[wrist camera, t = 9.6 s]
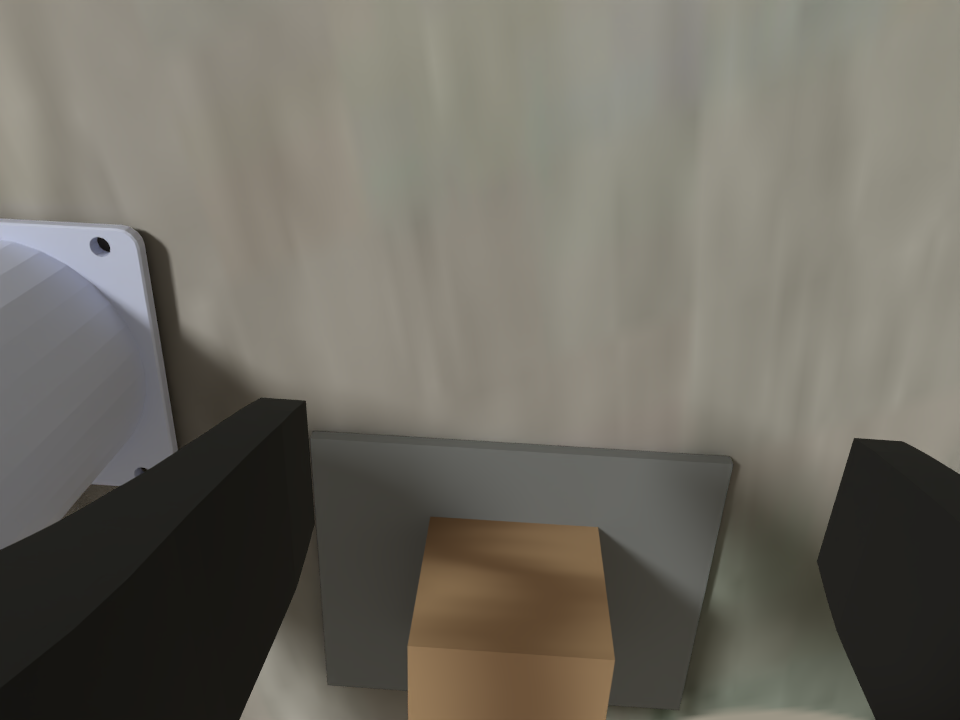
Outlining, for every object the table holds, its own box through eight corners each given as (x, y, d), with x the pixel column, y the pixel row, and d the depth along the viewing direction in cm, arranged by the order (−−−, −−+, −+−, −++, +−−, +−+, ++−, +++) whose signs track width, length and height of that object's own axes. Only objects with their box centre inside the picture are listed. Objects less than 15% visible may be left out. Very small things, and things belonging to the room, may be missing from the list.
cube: (429, 638, 26) (408, 780, 21) (430, 516, 23) (407, 646, 19) (581, 649, 25) (593, 794, 21) (598, 527, 23) (615, 660, 19)
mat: (330, 675, 27) (327, 685, 27) (313, 430, 23) (310, 438, 22) (677, 700, 27) (679, 709, 26) (730, 456, 22) (733, 464, 22)
